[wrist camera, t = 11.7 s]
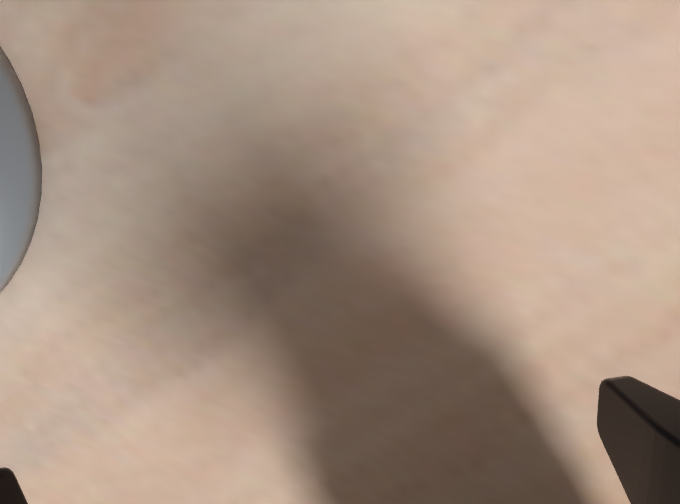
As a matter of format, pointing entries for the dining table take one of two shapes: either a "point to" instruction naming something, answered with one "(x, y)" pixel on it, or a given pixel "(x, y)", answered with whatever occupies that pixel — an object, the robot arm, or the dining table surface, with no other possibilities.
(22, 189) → the pin plate
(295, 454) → the dining table surface
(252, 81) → the dining table surface
